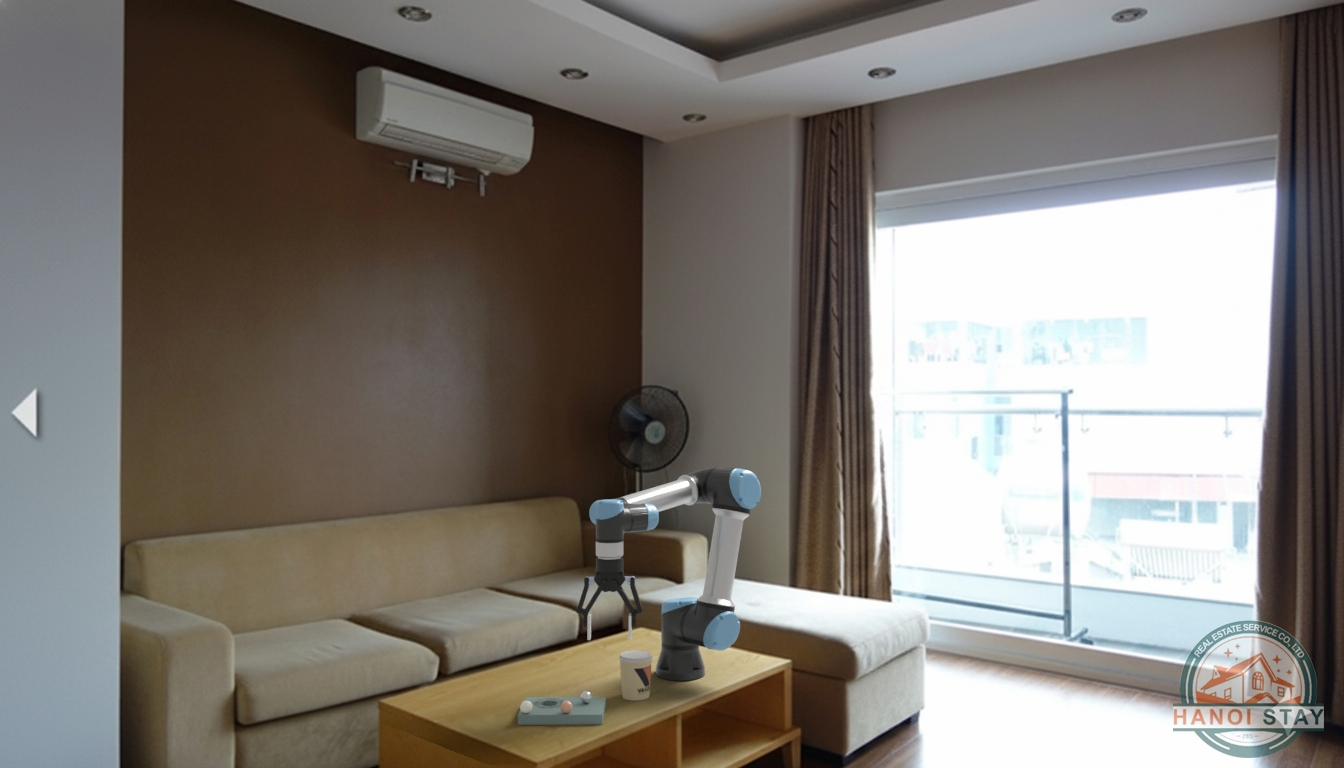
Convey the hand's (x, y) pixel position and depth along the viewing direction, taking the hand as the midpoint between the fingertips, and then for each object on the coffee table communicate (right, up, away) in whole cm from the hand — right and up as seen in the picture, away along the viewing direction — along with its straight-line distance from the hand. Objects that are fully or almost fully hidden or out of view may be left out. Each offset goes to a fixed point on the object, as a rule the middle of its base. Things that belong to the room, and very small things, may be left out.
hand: (609, 638), depth 259 cm
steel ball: (-6, -16, 0) cm, 17 cm away
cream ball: (-21, -16, -8) cm, 28 cm away
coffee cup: (+7, -20, +14) cm, 25 cm away
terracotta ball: (-11, -16, -8) cm, 21 cm away
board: (-12, -20, -2) cm, 23 cm away
